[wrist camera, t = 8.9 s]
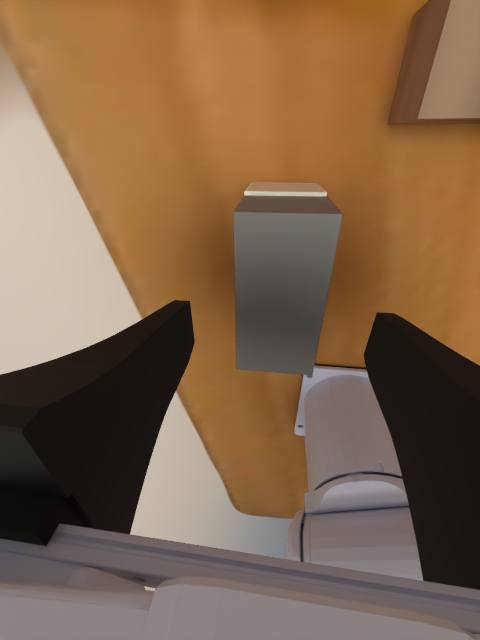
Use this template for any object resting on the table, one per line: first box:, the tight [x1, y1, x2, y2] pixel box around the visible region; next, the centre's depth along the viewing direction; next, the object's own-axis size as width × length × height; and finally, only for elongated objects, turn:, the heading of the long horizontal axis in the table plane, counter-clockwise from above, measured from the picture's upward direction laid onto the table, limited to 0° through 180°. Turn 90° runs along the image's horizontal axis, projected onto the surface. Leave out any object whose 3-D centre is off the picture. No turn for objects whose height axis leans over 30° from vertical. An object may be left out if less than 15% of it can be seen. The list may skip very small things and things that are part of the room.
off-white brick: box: [244, 182, 327, 196], centre depth 17 cm, size 8×4×4 cm, turn 0°
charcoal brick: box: [234, 195, 343, 375], centre depth 14 cm, size 8×4×4 cm, turn 0°
